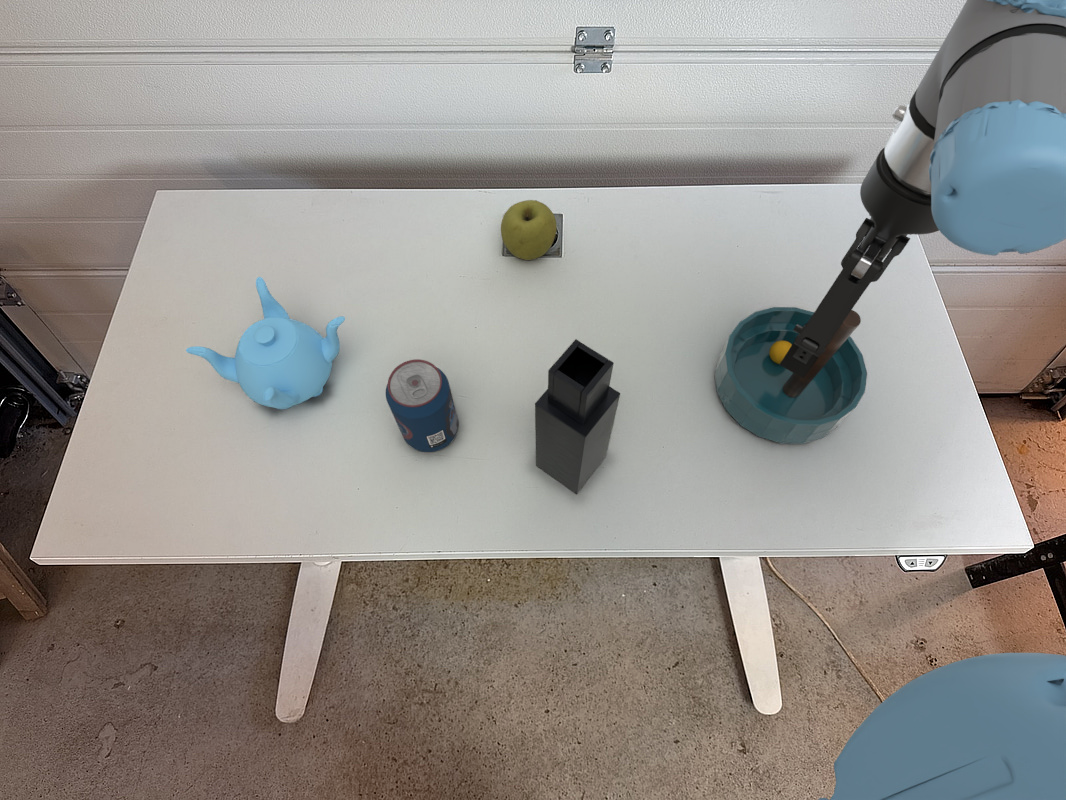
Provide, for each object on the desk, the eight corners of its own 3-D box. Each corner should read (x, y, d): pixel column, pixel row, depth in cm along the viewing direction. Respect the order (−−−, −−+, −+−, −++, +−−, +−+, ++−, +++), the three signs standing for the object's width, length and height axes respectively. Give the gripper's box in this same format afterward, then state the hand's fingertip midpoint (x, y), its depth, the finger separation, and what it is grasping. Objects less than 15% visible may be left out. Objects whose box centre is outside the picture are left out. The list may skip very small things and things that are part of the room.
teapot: (222, 391, 81) (182, 349, 72) (291, 318, 86) (262, 270, 77) (298, 439, 77) (266, 401, 68) (366, 360, 83) (345, 315, 74)
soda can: (395, 417, 79) (373, 368, 68) (448, 397, 80) (434, 345, 69) (414, 465, 76) (393, 420, 65) (468, 443, 77) (456, 396, 66)
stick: (791, 400, 78) (849, 330, 64) (779, 387, 79) (834, 314, 65) (804, 392, 79) (865, 320, 64) (792, 379, 80) (850, 305, 65)
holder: (576, 494, 74) (589, 408, 54) (535, 465, 75) (533, 372, 56) (605, 456, 76) (628, 360, 56) (565, 429, 78) (573, 327, 58)
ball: (785, 372, 79) (764, 359, 79) (783, 363, 82) (763, 351, 82) (801, 353, 78) (780, 340, 78) (798, 345, 80) (778, 333, 80)
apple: (491, 256, 91) (488, 220, 84) (523, 220, 94) (521, 183, 87) (536, 279, 89) (535, 244, 82) (566, 242, 92) (568, 205, 85)
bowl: (809, 471, 75) (829, 451, 69) (689, 398, 79) (700, 374, 74) (866, 376, 81) (889, 351, 75) (752, 313, 85) (766, 285, 80)
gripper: (941, 66, 55) (838, 239, 73) (813, 241, 45) (733, 388, 64) (1030, 100, 52) (901, 269, 71) (915, 291, 43) (801, 428, 62)
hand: (821, 326), depth 68 cm, fingers open, 13 cm apart
